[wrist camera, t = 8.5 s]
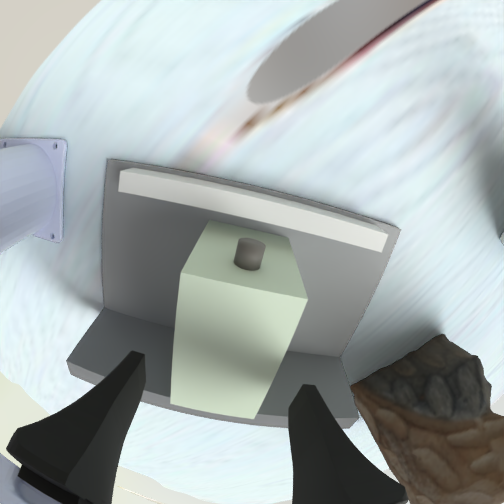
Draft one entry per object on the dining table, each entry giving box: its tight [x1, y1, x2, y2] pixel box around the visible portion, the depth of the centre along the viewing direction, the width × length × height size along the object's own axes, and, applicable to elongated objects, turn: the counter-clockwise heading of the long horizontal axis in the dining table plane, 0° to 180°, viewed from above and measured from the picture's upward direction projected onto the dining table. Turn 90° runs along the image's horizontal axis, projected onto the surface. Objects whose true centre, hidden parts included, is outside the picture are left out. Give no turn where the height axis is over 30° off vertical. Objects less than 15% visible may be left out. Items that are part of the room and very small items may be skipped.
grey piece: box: [66, 159, 401, 429], centre depth 15 cm, size 20×13×7 cm, turn 77°
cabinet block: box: [170, 220, 308, 419], centre depth 15 cm, size 5×10×7 cm, turn 167°
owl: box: [350, 334, 504, 504], centre depth 15 cm, size 13×13×20 cm
